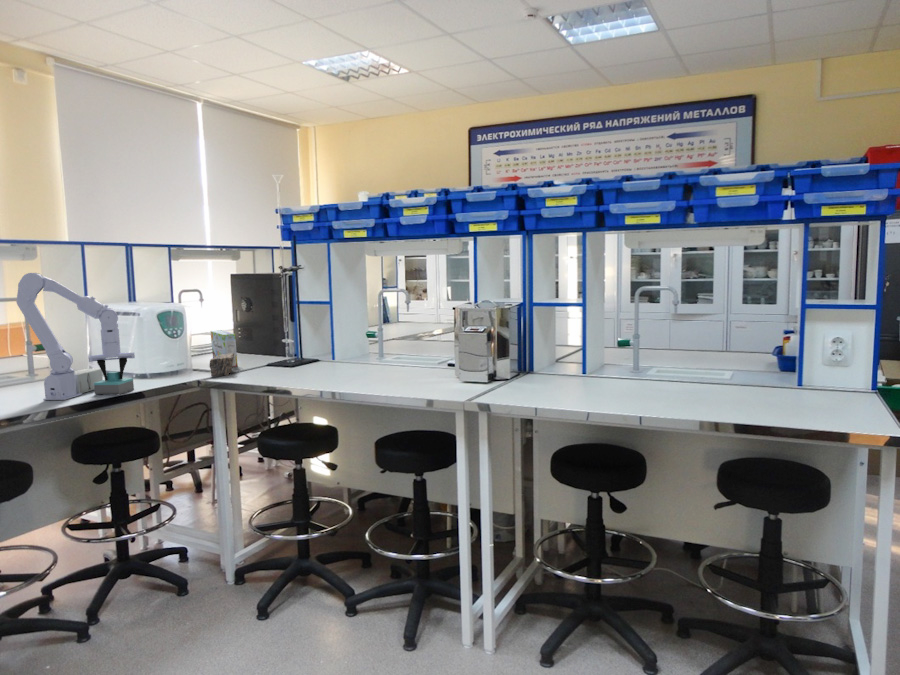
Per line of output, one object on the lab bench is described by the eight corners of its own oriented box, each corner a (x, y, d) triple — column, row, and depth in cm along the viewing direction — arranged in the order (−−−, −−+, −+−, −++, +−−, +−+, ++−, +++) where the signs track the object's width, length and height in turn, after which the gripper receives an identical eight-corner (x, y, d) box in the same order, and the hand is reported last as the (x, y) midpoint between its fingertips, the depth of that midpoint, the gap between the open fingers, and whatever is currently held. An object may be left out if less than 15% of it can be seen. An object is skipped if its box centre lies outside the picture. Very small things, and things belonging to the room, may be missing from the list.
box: (119, 394, 224) (118, 385, 224) (95, 394, 225) (94, 385, 224) (133, 389, 233) (133, 380, 233) (110, 389, 234) (110, 380, 233)
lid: (118, 386, 224) (117, 374, 223) (94, 386, 225) (93, 374, 224) (133, 381, 233) (132, 370, 232) (110, 382, 233) (109, 370, 233)
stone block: (232, 376, 259) (231, 357, 258) (210, 376, 258) (208, 358, 257) (240, 370, 273) (239, 352, 272) (218, 371, 272) (217, 353, 271)
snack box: (211, 362, 297) (209, 330, 296) (223, 361, 301) (222, 329, 299) (225, 367, 280) (223, 334, 279) (238, 366, 284) (236, 333, 282)
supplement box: (104, 387, 238) (79, 394, 226) (87, 387, 240) (61, 394, 227) (102, 368, 237) (77, 374, 225) (85, 368, 239) (59, 374, 226)
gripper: (132, 339, 234) (135, 375, 235) (87, 342, 227) (90, 380, 228) (133, 341, 228) (136, 378, 229) (87, 344, 221) (90, 383, 222)
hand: (113, 379), depth 228 cm, fingers closed on lid, 4 cm apart
